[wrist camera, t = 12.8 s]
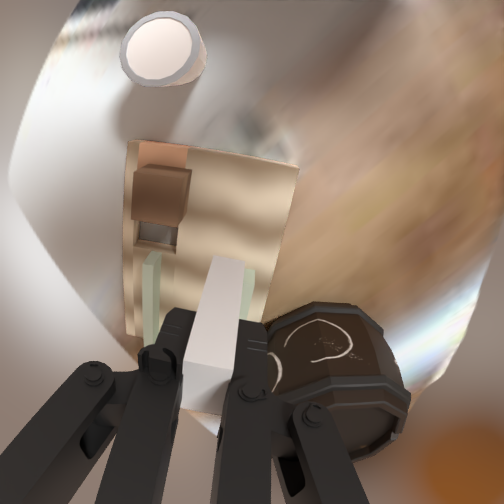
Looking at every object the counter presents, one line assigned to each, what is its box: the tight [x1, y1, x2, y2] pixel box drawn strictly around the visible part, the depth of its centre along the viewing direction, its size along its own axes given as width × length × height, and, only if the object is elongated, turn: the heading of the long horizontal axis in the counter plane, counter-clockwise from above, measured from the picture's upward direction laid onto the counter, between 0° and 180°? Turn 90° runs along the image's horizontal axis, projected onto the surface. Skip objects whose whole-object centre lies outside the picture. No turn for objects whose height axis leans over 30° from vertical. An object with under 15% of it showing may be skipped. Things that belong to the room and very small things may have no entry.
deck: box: [123, 139, 299, 338], centre depth 34 cm, size 25×17×2 cm
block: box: [131, 164, 192, 228], centre depth 28 cm, size 4×4×4 cm
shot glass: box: [119, 11, 207, 87], centre depth 22 cm, size 7×7×7 cm
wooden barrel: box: [267, 302, 411, 463], centre depth 34 cm, size 18×18×16 cm
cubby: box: [142, 251, 255, 347], centre depth 34 cm, size 14×12×3 cm
